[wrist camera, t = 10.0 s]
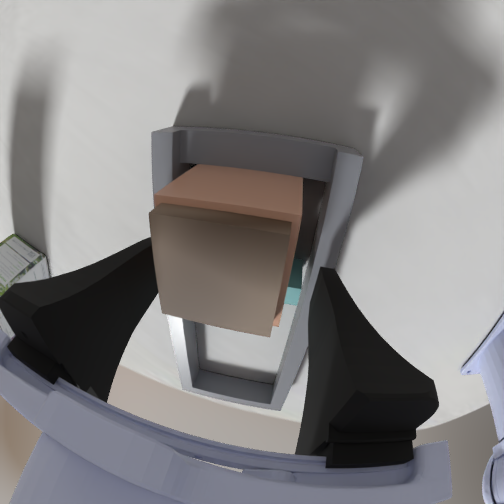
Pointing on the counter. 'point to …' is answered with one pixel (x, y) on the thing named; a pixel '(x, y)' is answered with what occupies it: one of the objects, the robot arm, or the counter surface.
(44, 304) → the robot arm
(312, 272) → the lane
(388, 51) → the counter surface
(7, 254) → the syrup box
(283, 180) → the tan cardboard cube box
